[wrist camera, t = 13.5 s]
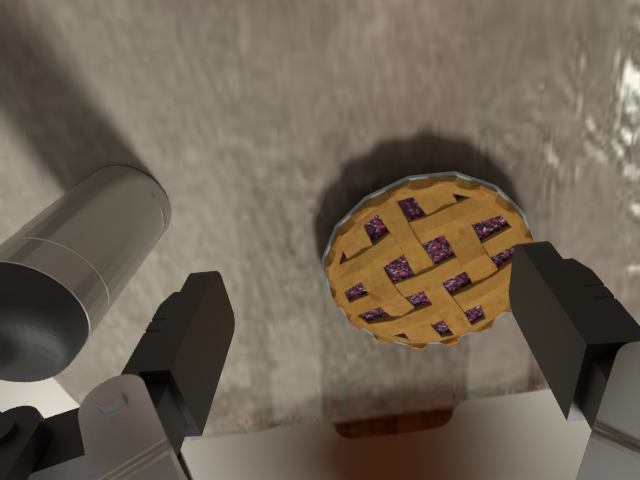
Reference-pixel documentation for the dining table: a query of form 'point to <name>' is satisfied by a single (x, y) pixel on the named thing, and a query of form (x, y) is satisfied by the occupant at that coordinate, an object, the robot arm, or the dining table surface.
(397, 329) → the pie
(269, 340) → the dining table surface
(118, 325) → the dining table surface
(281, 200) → the dining table surface
